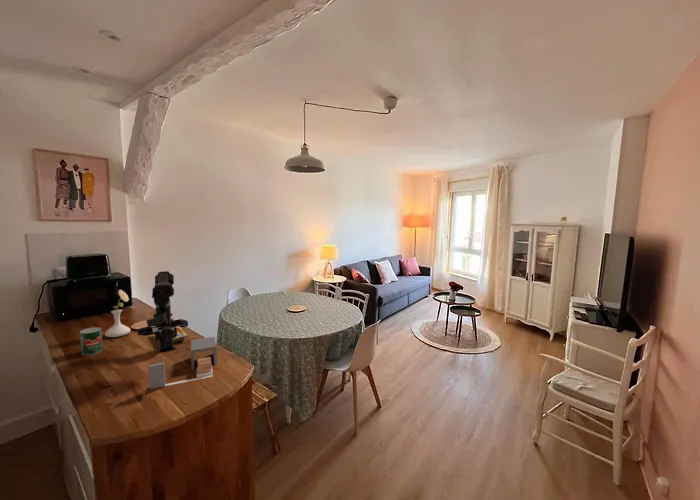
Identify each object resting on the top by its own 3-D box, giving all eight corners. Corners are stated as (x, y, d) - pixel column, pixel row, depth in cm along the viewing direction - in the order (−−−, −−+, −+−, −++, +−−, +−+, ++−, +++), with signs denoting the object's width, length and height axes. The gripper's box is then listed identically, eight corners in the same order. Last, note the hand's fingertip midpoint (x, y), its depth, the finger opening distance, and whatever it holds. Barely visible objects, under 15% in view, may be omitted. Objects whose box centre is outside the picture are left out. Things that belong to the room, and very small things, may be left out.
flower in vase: (120, 339, 161) (117, 294, 158) (99, 338, 161) (96, 293, 158) (137, 330, 174) (135, 288, 171) (118, 329, 174) (115, 287, 171)
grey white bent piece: (152, 380, 122) (151, 356, 121) (212, 368, 132) (211, 347, 131) (149, 391, 114) (148, 366, 113) (213, 379, 124) (212, 355, 123)
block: (198, 370, 129) (197, 359, 128) (210, 367, 131) (210, 357, 130) (198, 375, 124) (197, 364, 124) (211, 373, 127) (211, 362, 126)
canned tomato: (90, 356, 141) (88, 333, 140) (76, 354, 143) (75, 332, 142) (106, 349, 149) (105, 327, 148) (94, 347, 151) (92, 326, 150)
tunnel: (191, 359, 140) (191, 340, 139) (215, 355, 145) (214, 336, 144) (191, 371, 130) (190, 350, 129) (216, 367, 134) (216, 346, 133)
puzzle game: (178, 323, 174) (187, 334, 159) (178, 331, 175) (187, 342, 160) (154, 328, 167) (161, 339, 152) (155, 336, 167) (162, 348, 152)
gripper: (128, 314, 125) (128, 352, 120) (174, 304, 126) (175, 341, 121) (146, 317, 135) (146, 352, 130) (187, 308, 137) (189, 342, 132)
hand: (163, 347), depth 128 cm, fingers closed
